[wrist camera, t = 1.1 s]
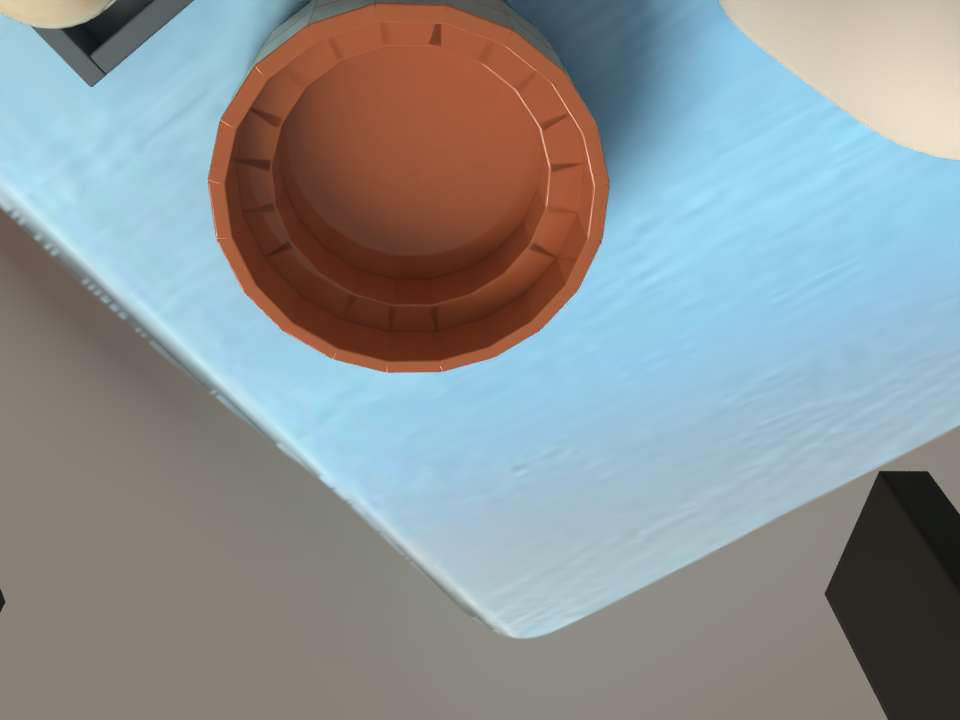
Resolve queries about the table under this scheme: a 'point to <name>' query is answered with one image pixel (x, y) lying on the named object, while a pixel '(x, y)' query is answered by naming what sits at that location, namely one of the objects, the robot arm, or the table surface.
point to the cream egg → (53, 12)
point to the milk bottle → (870, 60)
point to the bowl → (408, 181)
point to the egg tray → (110, 35)
